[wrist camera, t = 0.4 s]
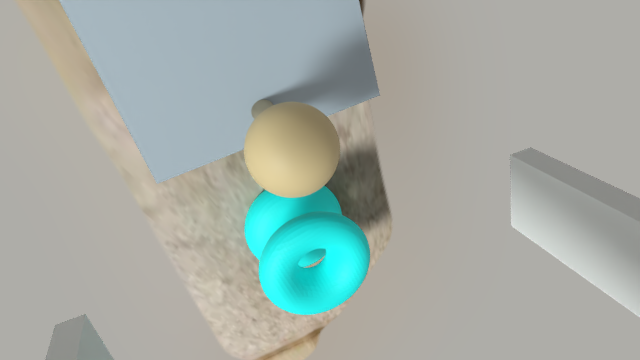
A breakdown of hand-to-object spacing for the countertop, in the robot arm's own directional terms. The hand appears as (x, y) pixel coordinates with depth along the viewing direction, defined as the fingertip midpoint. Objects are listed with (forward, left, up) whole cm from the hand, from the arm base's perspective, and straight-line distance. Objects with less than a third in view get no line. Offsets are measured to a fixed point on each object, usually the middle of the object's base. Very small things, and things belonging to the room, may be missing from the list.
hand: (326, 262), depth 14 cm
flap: (-7, -3, -19) cm, 20 cm away
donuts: (+12, +11, -29) cm, 34 cm away
